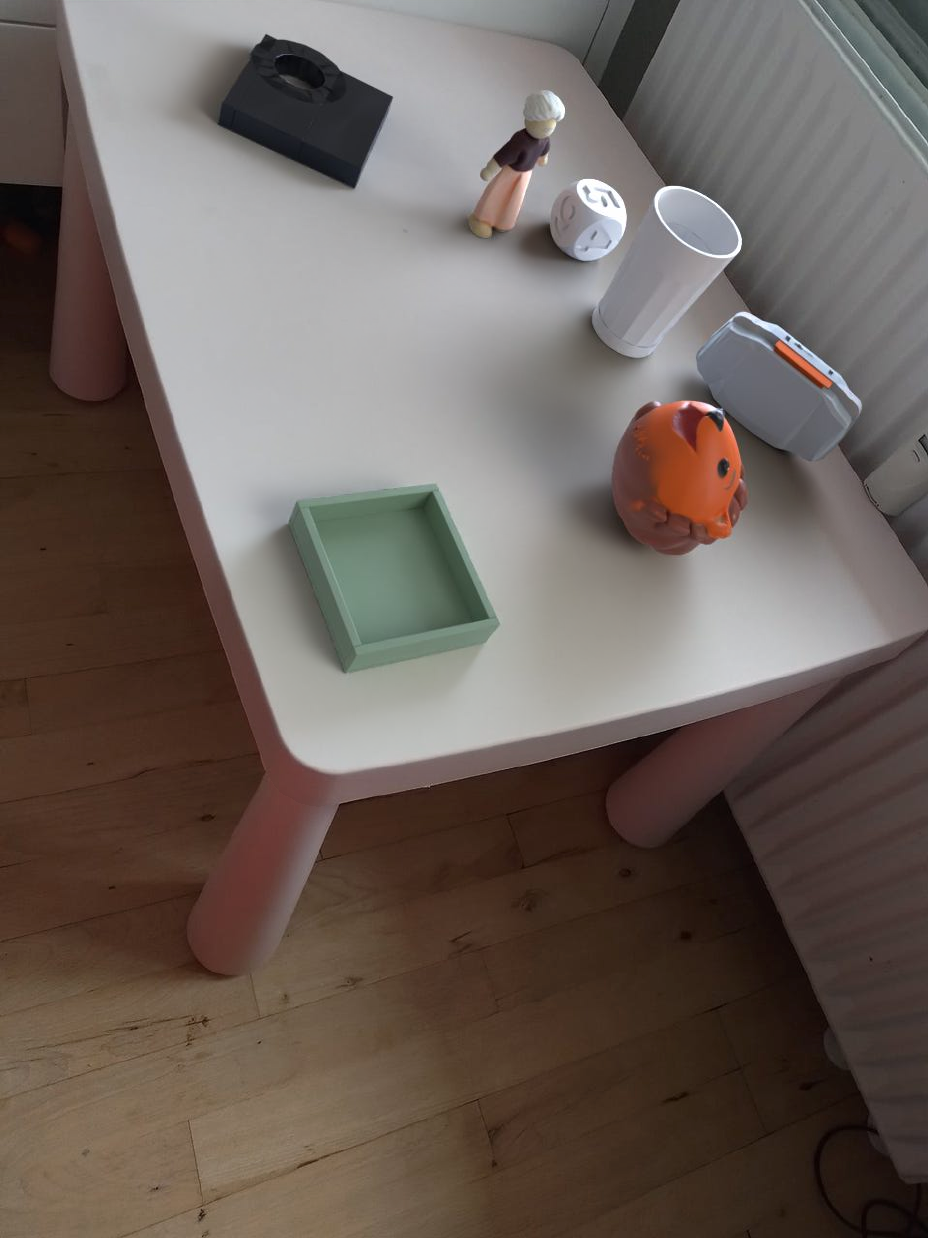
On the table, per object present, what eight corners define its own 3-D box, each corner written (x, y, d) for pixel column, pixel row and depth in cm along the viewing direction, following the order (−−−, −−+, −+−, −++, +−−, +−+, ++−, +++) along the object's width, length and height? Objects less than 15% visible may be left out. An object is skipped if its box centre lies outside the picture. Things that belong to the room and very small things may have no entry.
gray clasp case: (816, 461, 88) (878, 403, 81) (806, 478, 86) (869, 420, 79) (691, 360, 88) (743, 294, 82) (678, 375, 86) (730, 309, 80)
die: (607, 262, 91) (634, 219, 87) (563, 260, 88) (589, 216, 84) (586, 223, 92) (611, 179, 88) (542, 221, 90) (567, 175, 86)
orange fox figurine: (582, 438, 78) (657, 336, 68) (696, 472, 81) (782, 379, 72) (588, 562, 71) (671, 468, 62) (711, 594, 74) (807, 508, 65)
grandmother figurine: (483, 251, 85) (546, 122, 74) (451, 223, 85) (508, 90, 75) (530, 222, 89) (594, 96, 79) (498, 196, 89) (559, 67, 79)
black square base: (215, 123, 80) (219, 101, 78) (263, 47, 87) (267, 25, 86) (354, 188, 82) (361, 168, 81) (389, 109, 90) (396, 89, 88)
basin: (287, 522, 63) (296, 499, 61) (424, 503, 68) (436, 482, 66) (345, 673, 59) (356, 655, 57) (485, 642, 64) (500, 624, 62)
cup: (569, 297, 86) (637, 183, 76) (638, 296, 90) (712, 187, 80) (607, 366, 83) (683, 257, 74) (677, 363, 87) (758, 258, 77)
